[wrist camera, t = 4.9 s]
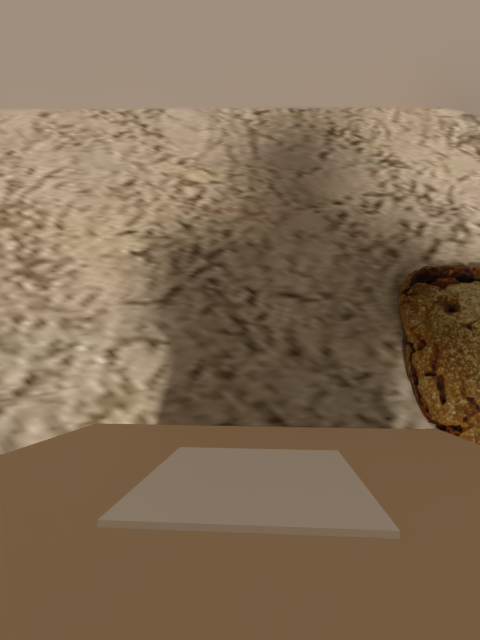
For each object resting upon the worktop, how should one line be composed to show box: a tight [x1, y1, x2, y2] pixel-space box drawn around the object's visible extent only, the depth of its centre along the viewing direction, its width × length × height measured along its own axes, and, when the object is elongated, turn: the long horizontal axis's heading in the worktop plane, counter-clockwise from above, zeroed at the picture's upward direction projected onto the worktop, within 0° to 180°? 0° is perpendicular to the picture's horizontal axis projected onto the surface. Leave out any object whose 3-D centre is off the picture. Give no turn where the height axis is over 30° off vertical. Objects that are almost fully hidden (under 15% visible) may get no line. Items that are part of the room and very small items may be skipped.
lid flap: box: [0, 424, 480, 640], centre depth 9 cm, size 12×12×1 cm
